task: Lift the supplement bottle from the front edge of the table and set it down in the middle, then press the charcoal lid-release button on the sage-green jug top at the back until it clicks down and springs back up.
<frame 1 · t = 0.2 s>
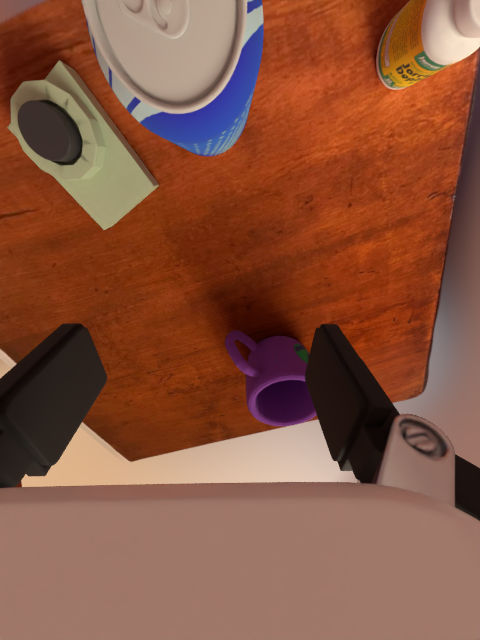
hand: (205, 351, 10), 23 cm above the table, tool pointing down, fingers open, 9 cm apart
supplement bottle: (402, 52, 21), on the table
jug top: (96, 159, 25), on the table
beer can: (206, 105, 23), on the table
lid button: (51, 133, 20), point 4 cm above the table, slide at 0.1 cm
mug: (264, 346, 40), on the table
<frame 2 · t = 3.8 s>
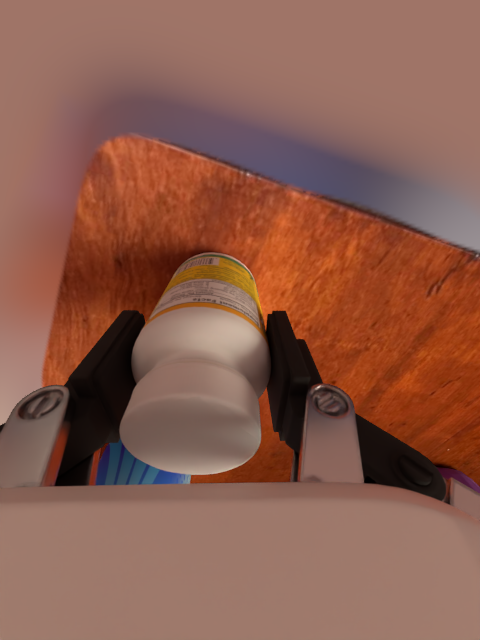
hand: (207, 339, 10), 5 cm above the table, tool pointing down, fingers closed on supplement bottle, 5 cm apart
supplement bottle: (215, 291, 15), on the table, touching gripper
beer can: (154, 442, 24), on the table
mug: (396, 483, 30), on the table
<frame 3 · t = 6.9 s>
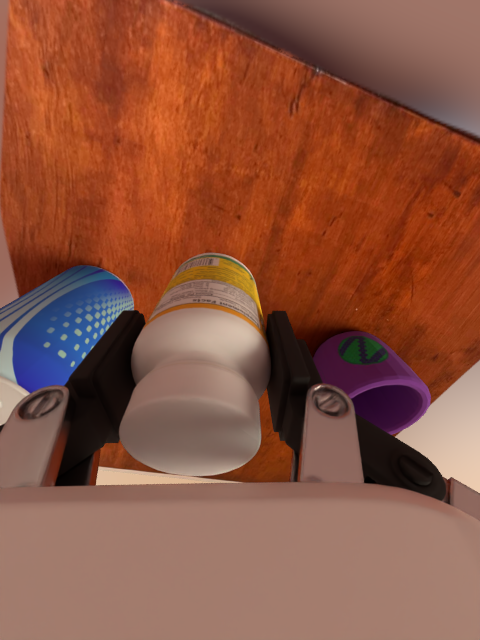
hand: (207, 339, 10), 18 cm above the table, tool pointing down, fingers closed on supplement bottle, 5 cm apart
supplement bottle: (215, 291, 15), point 12 cm above the table, touching gripper
beer can: (103, 293, 28), on the table
mug: (323, 357, 35), on the table
when the fingers open (5 cm above the table, at t = 10.1 s): supplement bottle stays where it is, on the table.
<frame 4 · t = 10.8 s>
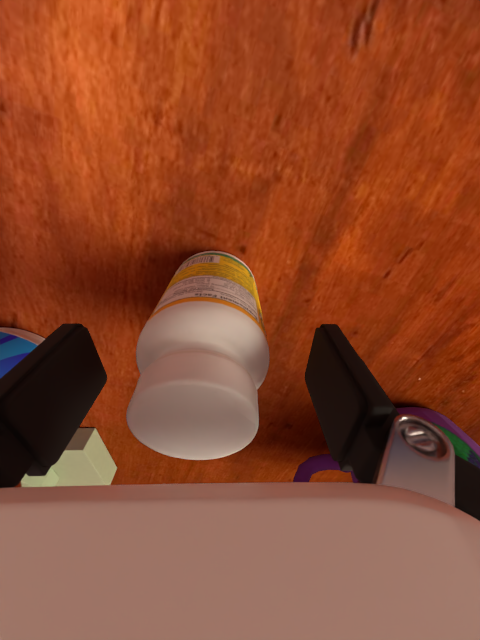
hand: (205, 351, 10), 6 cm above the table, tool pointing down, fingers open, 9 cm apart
supplement bottle: (215, 289, 15), on the table
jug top: (55, 450, 25), on the table
beer can: (29, 361, 18), on the table
mug: (361, 434, 25), on the table
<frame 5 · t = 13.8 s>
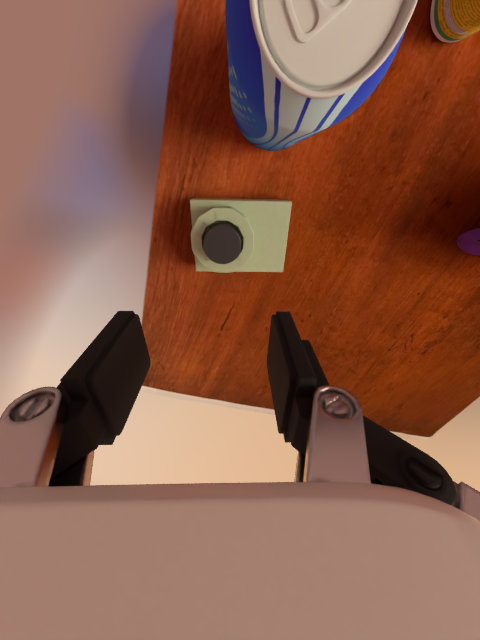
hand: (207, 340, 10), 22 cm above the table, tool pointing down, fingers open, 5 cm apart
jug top: (239, 234, 29), on the table
beer can: (273, 98, 22), on the table
lid button: (222, 243, 25), point 4 cm above the table, slide at 0.1 cm
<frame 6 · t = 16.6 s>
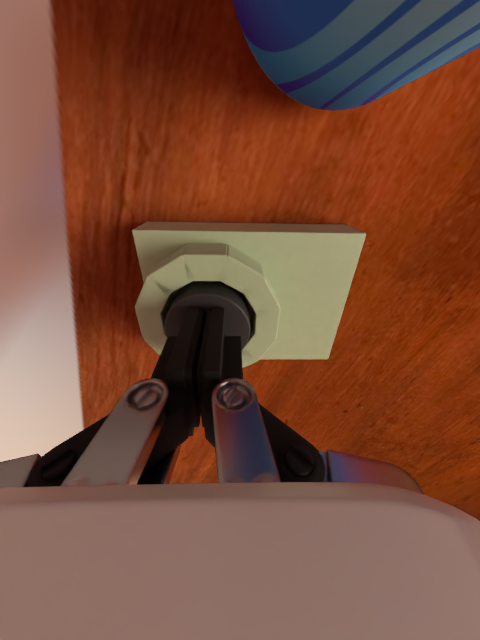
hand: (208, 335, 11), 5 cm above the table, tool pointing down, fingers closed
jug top: (245, 289, 15), on the table
lid button: (209, 321, 11), point 4 cm above the table, slide at -0.6 cm, touching gripper
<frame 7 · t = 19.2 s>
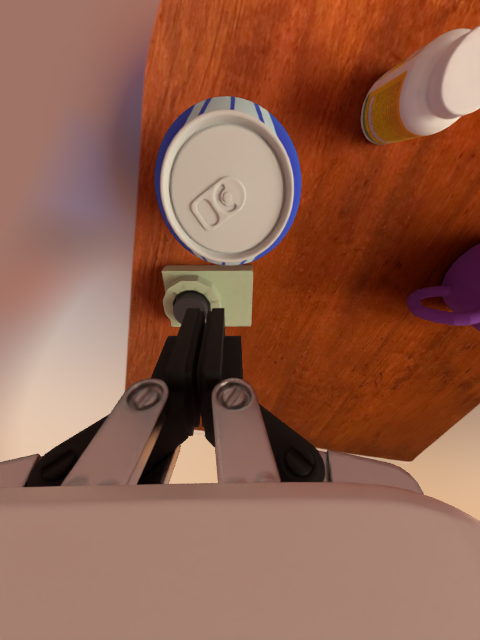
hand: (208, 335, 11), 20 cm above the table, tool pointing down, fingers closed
supplement bottle: (385, 111, 22), on the table
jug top: (211, 293, 31), on the table
beer can: (231, 187, 25), on the table
lid button: (191, 309, 28), point 4 cm above the table, slide at 0.1 cm
mug: (452, 278, 31), on the table
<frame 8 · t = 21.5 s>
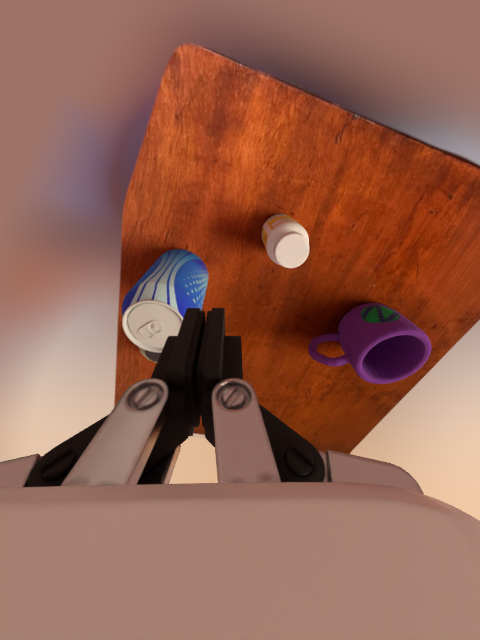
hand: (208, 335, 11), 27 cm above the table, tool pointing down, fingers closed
supplement bottle: (278, 232, 34), on the table
beer can: (183, 272, 37), on the table
lid button: (158, 350, 40), point 4 cm above the table, slide at 0.1 cm
mug: (346, 326, 44), on the table
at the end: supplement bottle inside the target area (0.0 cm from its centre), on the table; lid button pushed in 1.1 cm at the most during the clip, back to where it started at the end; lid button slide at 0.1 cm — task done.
